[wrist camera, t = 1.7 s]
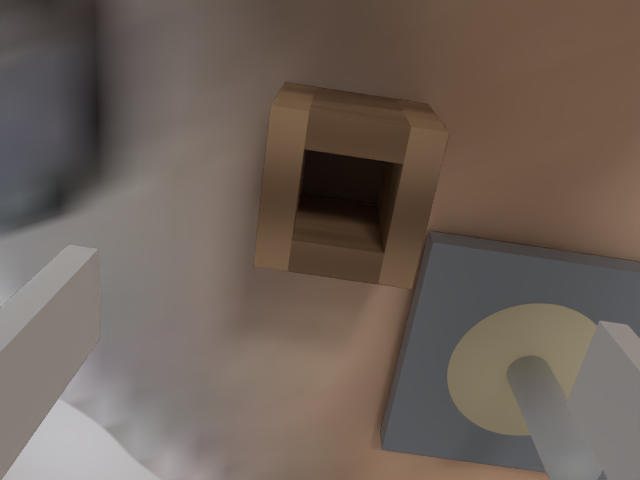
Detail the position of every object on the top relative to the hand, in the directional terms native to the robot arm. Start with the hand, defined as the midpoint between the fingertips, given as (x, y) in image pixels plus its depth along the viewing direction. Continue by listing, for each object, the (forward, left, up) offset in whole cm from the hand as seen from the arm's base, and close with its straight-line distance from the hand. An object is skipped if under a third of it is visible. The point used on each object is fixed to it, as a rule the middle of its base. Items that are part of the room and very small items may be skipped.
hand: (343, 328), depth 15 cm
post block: (+10, +12, -15) cm, 22 cm away
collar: (0, 0, -15) cm, 15 cm away
